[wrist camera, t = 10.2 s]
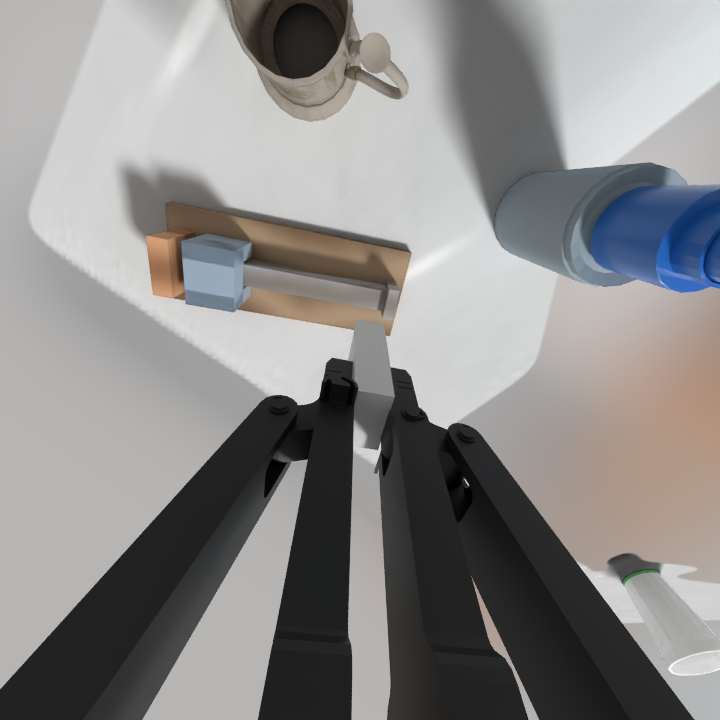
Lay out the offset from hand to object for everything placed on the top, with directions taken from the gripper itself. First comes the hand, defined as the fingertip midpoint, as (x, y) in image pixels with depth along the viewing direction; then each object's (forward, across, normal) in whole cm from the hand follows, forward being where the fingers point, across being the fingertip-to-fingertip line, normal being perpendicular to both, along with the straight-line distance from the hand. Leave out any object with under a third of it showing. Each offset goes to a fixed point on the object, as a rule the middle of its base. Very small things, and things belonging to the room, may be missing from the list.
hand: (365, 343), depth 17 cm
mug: (+24, -7, +16) cm, 30 cm away
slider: (+22, -15, -4) cm, 27 cm away
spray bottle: (+25, +18, +8) cm, 32 cm away
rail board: (+24, -8, -4) cm, 25 cm away
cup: (+24, +81, -61) cm, 104 cm away
